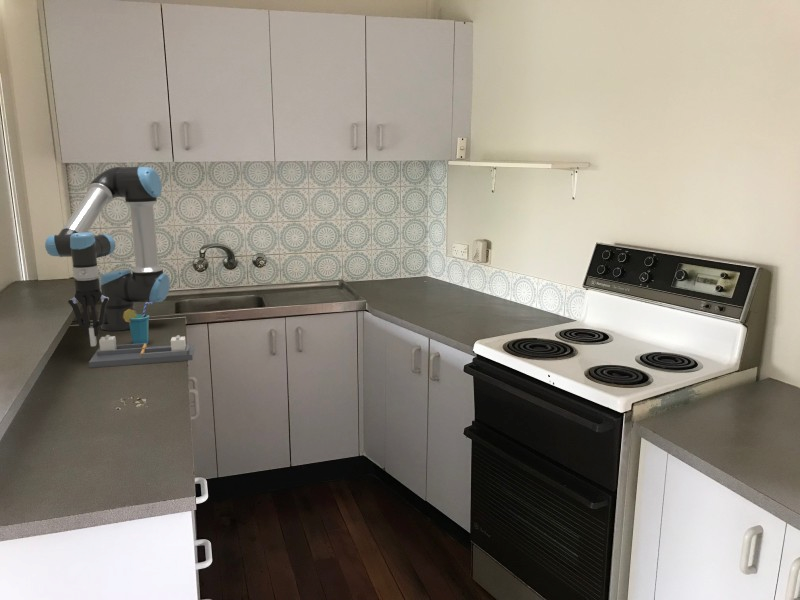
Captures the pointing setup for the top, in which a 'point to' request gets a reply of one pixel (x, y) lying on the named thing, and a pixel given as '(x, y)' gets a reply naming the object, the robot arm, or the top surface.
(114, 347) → the tab
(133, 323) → the cup
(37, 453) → the top surface
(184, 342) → the tab
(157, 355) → the switch bank
